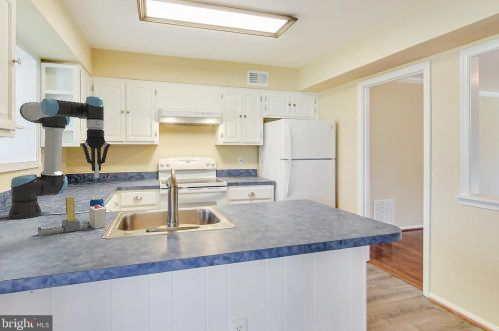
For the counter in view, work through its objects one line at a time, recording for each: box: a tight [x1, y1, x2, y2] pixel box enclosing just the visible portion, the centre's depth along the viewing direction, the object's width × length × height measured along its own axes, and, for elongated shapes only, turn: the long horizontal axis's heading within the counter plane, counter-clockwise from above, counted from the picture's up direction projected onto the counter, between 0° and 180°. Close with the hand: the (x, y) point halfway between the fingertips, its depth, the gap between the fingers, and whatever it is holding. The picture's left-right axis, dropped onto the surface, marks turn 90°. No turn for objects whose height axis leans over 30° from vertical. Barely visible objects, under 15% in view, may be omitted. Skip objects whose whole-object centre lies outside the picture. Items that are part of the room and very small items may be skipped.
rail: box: [37, 220, 88, 237], centre depth 136 cm, size 3×19×3 cm, turn 132°
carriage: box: [61, 196, 81, 233], centre depth 137 cm, size 8×6×15 cm
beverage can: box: [89, 197, 105, 208], centre depth 155 cm, size 6×6×12 cm
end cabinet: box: [88, 206, 107, 229], centre depth 145 cm, size 10×5×9 cm, turn 42°
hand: (96, 177), depth 144 cm, fingers closed
